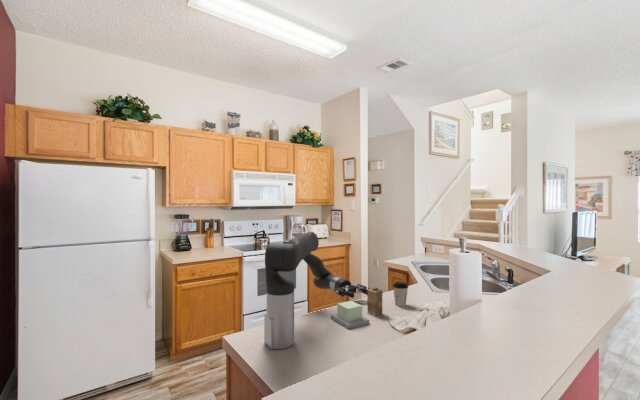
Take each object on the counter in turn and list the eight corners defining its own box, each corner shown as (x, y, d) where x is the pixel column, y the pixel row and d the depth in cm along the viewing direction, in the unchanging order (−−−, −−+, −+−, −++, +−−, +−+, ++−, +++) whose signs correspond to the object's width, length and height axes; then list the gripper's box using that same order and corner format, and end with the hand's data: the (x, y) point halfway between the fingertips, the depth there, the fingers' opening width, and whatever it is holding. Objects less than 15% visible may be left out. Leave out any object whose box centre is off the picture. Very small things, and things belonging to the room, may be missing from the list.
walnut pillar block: (374, 316, 126) (374, 290, 126) (367, 312, 130) (367, 287, 130) (382, 314, 128) (382, 288, 128) (375, 311, 132) (375, 286, 132)
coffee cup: (411, 306, 137) (411, 284, 137) (398, 308, 135) (398, 285, 135) (402, 301, 144) (402, 280, 144) (389, 303, 141) (389, 282, 141)
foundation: (348, 329, 113) (348, 311, 113) (330, 318, 123) (330, 302, 123) (369, 323, 118) (369, 306, 118) (350, 313, 128) (350, 298, 129)
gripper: (328, 279, 147) (348, 288, 133) (351, 276, 154) (373, 283, 140) (328, 295, 147) (348, 305, 133) (352, 291, 154) (373, 299, 140)
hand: (361, 294), depth 137 cm, fingers open, 8 cm apart
